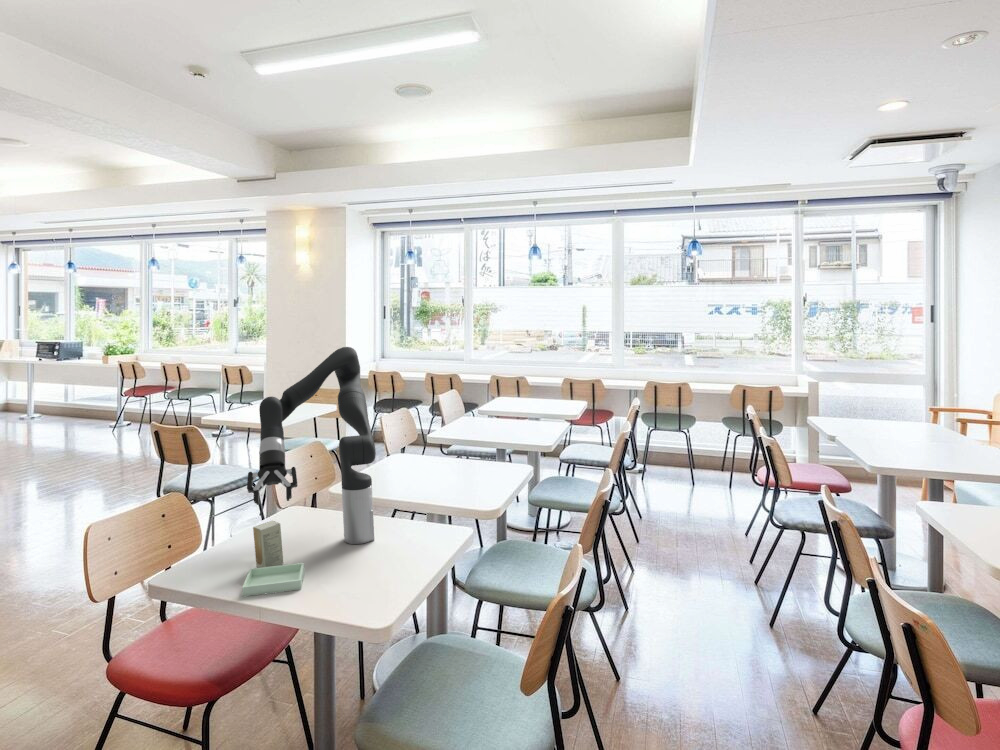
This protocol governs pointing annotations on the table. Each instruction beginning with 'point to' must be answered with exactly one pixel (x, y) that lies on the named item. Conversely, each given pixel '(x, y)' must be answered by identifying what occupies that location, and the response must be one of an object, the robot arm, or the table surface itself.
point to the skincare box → (268, 544)
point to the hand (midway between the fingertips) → (272, 501)
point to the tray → (274, 579)
